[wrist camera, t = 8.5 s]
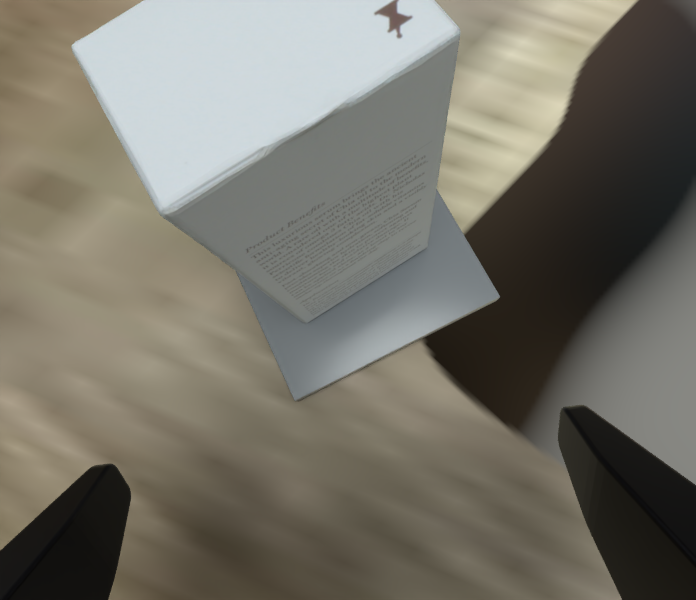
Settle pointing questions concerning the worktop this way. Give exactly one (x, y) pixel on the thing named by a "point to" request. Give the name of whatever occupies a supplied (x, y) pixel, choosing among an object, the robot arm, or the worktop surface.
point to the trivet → (378, 311)
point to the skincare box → (284, 131)
